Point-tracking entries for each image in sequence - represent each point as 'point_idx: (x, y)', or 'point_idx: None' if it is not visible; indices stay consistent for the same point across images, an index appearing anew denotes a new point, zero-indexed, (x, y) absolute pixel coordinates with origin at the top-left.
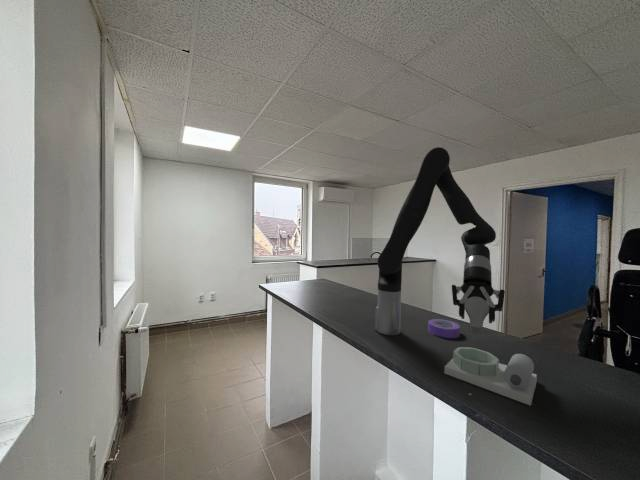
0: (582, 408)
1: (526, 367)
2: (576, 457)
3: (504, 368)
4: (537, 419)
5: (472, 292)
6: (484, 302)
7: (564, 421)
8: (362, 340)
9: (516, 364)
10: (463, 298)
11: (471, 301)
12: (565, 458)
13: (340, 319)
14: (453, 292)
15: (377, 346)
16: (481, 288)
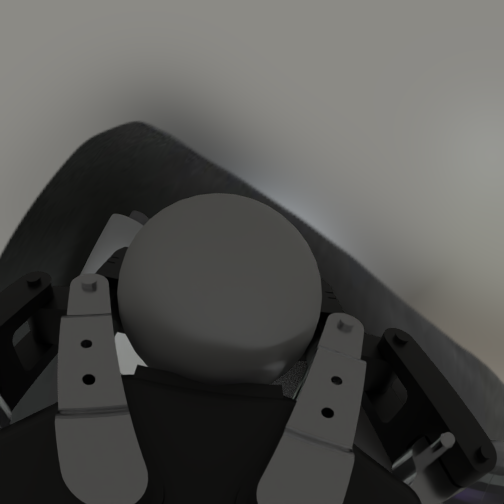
0: (43, 258)
1: (92, 253)
2: (130, 136)
3: (131, 348)
4: (136, 189)
5: (269, 444)
6: (160, 216)
7: (95, 202)
8: (463, 363)
9: (115, 245)
10: (347, 351)
11: (280, 215)
12: (145, 130)
13: (500, 435)
14: (447, 390)
15: (438, 353)
16: (113, 468)
